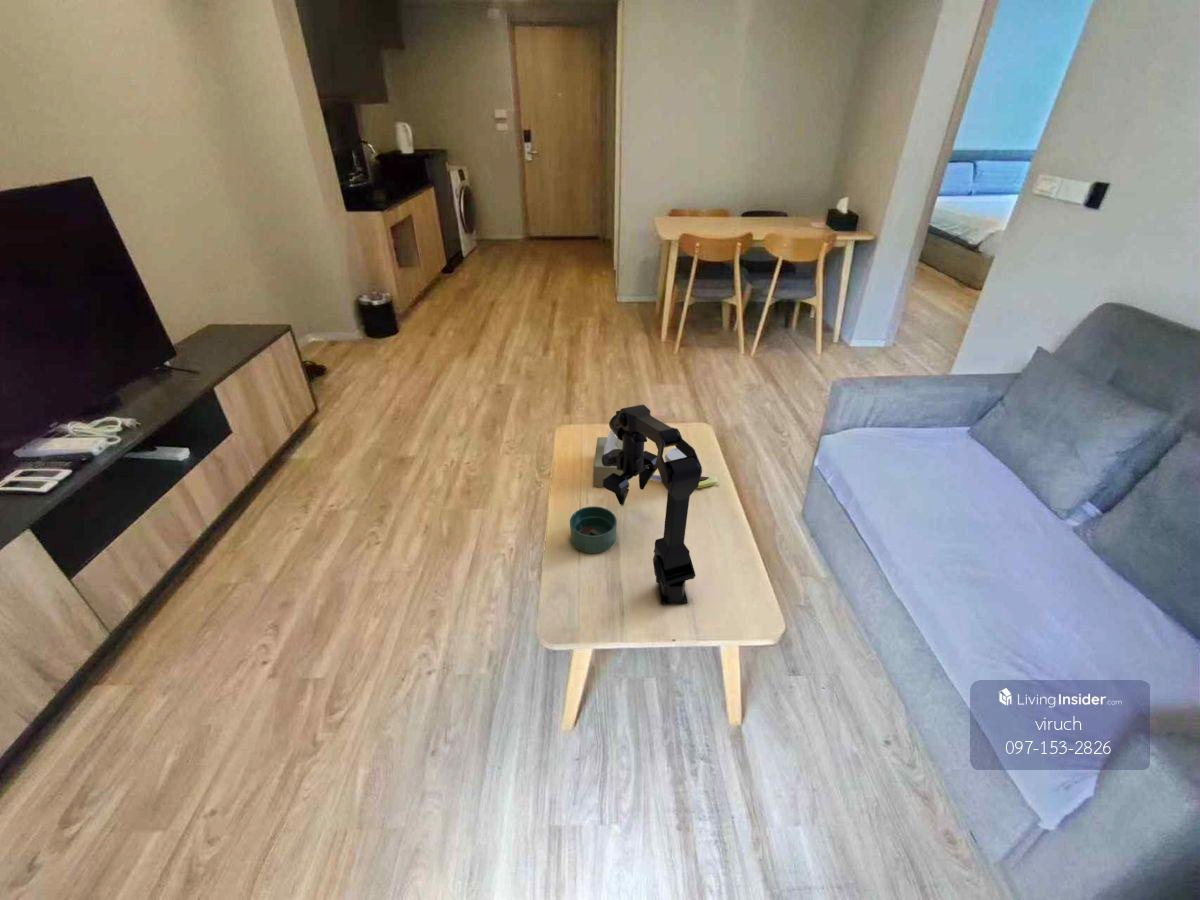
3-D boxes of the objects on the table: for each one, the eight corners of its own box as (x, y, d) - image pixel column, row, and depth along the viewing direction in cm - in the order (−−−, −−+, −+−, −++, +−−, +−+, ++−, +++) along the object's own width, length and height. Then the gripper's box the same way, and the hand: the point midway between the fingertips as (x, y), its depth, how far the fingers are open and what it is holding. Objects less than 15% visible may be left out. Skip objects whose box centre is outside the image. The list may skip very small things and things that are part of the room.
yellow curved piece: (639, 485, 174) (717, 491, 171) (639, 479, 172) (718, 484, 170) (641, 472, 180) (716, 477, 178) (641, 465, 179) (717, 470, 176)
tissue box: (623, 488, 172) (624, 447, 164) (593, 487, 173) (593, 446, 165) (625, 456, 188) (626, 417, 180) (597, 455, 189) (597, 416, 180)
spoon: (609, 540, 151) (609, 534, 150) (600, 547, 149) (600, 541, 147) (586, 527, 156) (586, 521, 155) (577, 533, 154) (577, 527, 152)
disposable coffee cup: (698, 490, 171) (701, 459, 165) (671, 497, 168) (674, 466, 162) (683, 475, 178) (686, 444, 172) (657, 481, 176) (659, 450, 169)
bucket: (618, 553, 147) (618, 535, 144) (570, 555, 147) (570, 537, 143) (614, 522, 158) (614, 505, 155) (570, 524, 158) (569, 507, 154)
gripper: (630, 426, 151) (629, 471, 160) (586, 453, 140) (587, 500, 148) (663, 439, 145) (660, 485, 154) (620, 469, 133) (619, 517, 142)
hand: (631, 496), depth 149 cm, fingers open, 9 cm apart
